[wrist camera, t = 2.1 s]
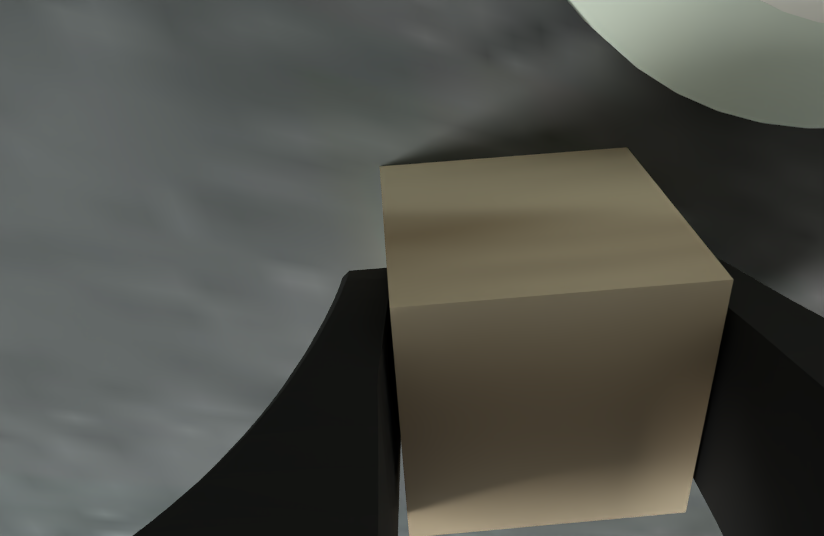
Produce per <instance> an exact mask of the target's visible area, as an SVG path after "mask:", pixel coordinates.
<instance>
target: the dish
mask: <svg viewBox="0 0 824 536" xmlns="http://www.w3.org/2000/svg"><path fill="white" fill-rule="evenodd" d="M567 1H568V2H569V3H570V5H571V6H572V7H573V8H574V9H575V11H576V12H577V13H578V14H579V15H580V17H581V18H582V19H583V20H584V21H585V22H586V23H588V24H589V25H590V26H591V27H592V28H593V29H594V30H595V31H596V32H597V33H598V34H600V35H601V36H602V37H603V38H604V39H605V40H606V41H607V42H608V43H610V44H611V45H612V46H613V47H614V48H615V49H616V50H618V51H619V52H620V53H621V54H622V55H623V56H624V57H625V58H627V59H628V60H629V61H630V62H631V63H632V64H633V65H634V66H636V67H637V68H638V69H640V70H641V71H643V72H644V73H646V74H647V75H649V76H651V77H652V78H654V79H655V80H657V81H658V82H660V83H662V84H663V85H665V86H666V87H668V88H669V89H671V90H672V91H674V92H676V93H678V94H680V95H682V96H684V97H687V98H689V99H691V100H694V101H696V102H698V103H700V104H703V105H705V106H707V107H709V108H712V109H714V110H716V111H719V112H723V113H727V114H730V115H734V116H738V117H741V118H745V119H749V120H753V121H756V122H760V123H767V124H775V125H783V126H792V127H800V128H824V0H567Z"/></svg>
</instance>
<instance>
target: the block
mask: <svg viewBox="0 0 824 536" xmlns="http://www.w3.org/2000/svg"><path fill="white" fill-rule="evenodd" d="M380 176H381V191H382V205H383V219H384V233H385V247H386V261H387V275H388V290H389V304H390V316H391V328H392V339H393V351H394V363H395V374H396V386H397V398H398V409H399V421H400V432H401V444H402V456H403V467H404V479H405V491H406V502H407V514H408V525H409V536H431V535H442V534H453V533H464V532H475V531H486V530H497V529H508V528H519V527H530V526H541V525H552V524H563V523H574V522H585V521H596V520H607V519H618V518H629V517H640V516H651V515H662V514H673V513H684V512H686V508H687V503H688V499H689V494H690V489H691V484H692V479H693V474H694V469H695V464H696V460H697V455H698V450H699V445H700V440H701V435H702V430H703V426H704V421H705V416H706V411H707V406H708V401H709V396H710V391H711V387H712V382H713V377H714V372H715V367H716V362H717V357H718V353H719V348H720V343H721V338H722V333H723V328H724V323H725V318H726V314H727V309H728V304H729V299H730V294H731V289H732V284H733V280H734V279H733V278H732V277H731V276H730V275H729V273H728V272H727V271H726V270H725V268H724V267H723V266H722V265H721V263H720V262H719V261H718V260H717V258H716V257H715V256H714V255H713V253H712V252H711V251H710V250H709V248H708V247H707V246H706V245H705V244H704V242H703V241H702V240H701V239H700V237H699V236H698V235H697V234H696V232H695V231H694V230H693V229H692V227H691V226H690V225H689V224H688V222H687V221H686V220H685V219H684V217H683V216H682V215H681V214H680V213H679V211H678V210H677V209H676V208H675V206H674V205H673V204H672V203H671V201H670V200H669V199H668V198H667V196H666V195H665V194H664V193H663V191H662V190H661V189H660V188H659V186H658V185H657V184H656V183H655V181H654V180H653V179H652V178H651V177H650V175H649V174H648V173H647V172H646V170H645V169H644V168H643V167H642V165H641V164H640V163H639V162H638V160H637V159H636V158H635V157H634V155H633V154H632V153H631V152H630V150H629V149H628V148H627V147H624V148H611V149H598V150H585V151H572V152H560V153H547V154H534V155H521V156H508V157H495V158H482V159H469V160H456V161H444V162H431V163H418V164H405V165H392V166H380Z"/></svg>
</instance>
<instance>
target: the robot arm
mask: <svg viewBox="0 0 824 536" xmlns="http://www.w3.org/2000/svg"><path fill="white" fill-rule="evenodd" d="M717 260H718V261H719V262H720V263H721V265H722V266H723V267H724V268H725V270H726V271H727V272H728V273H729V275H730V276H731V277H732V278H733V279H734V280H733V284H732V289H731V294H730V299H729V304H728V309H727V314H726V318H725V323H724V328H723V333H722V338H721V343H720V348H719V353H718V357H717V362H716V367H715V372H714V377H713V382H712V387H711V391H710V396H709V401H708V406H707V411H706V416H705V421H704V426H703V430H702V435H701V440H700V445H699V450H698V455H697V460H696V464H695V469H694V474H693V478H694V480H695V482H696V484H697V486H698V488H699V490H700V491H701V493H702V495H703V497H704V499H705V501H706V503H707V505H708V506H709V508H710V510H711V512H712V514H713V516H714V518H715V520H716V522H717V524H718V526H719V528H720V530H721V532H722V534H723V536H824V318H823V317H822V316H820V315H818V314H816V313H814V312H812V311H810V310H808V309H806V308H805V307H803V306H801V305H799V304H797V303H795V302H794V301H792V300H790V299H788V298H786V297H785V296H783V295H781V294H779V293H778V292H776V291H774V290H772V289H771V288H769V287H767V286H765V285H764V284H762V283H760V282H758V281H757V280H755V279H753V278H751V277H750V276H748V275H746V274H744V273H743V272H741V271H739V270H737V269H736V268H734V267H732V266H731V265H729V264H727V263H725V262H724V261H722V260H720V259H718V258H717ZM400 449H401V432H400V421H399V409H398V398H397V386H396V374H395V363H394V351H393V339H392V328H391V316H390V304H389V290H388V275H387V268H379V269H366V270H354V271H349V272H348V273H347V274H346V275H345V276H344V277H343V278H342V281H341V284H340V287H339V289H338V292H337V294H336V297H335V299H334V301H333V303H332V305H331V307H330V309H329V311H328V313H327V315H326V318H325V320H324V321H323V323H322V325H321V327H320V328H319V330H318V332H317V334H316V336H315V337H314V339H313V341H312V343H311V344H310V346H309V348H308V350H307V351H306V353H305V354H304V356H303V358H302V359H301V361H300V362H299V363H298V365H297V366H296V368H295V369H294V371H293V372H292V374H291V375H290V377H289V378H288V380H287V381H286V383H285V384H284V386H283V387H282V389H281V390H280V391H279V393H278V394H277V395H276V397H275V398H274V399H273V401H272V402H271V403H270V405H269V406H268V407H267V408H266V410H265V411H264V412H263V413H262V415H261V416H260V417H259V418H258V419H257V421H256V422H255V423H254V424H253V425H252V426H251V428H250V429H249V430H248V431H247V432H246V433H245V435H244V436H243V437H242V438H241V439H240V440H239V441H238V442H237V443H236V444H235V445H234V446H233V447H232V448H231V449H230V450H229V452H228V453H227V454H226V455H225V456H224V457H223V458H222V459H221V460H220V461H219V462H218V463H217V464H216V465H215V466H214V467H213V468H212V469H211V470H210V471H209V472H208V473H207V474H206V475H205V476H204V477H203V478H202V479H201V480H200V481H199V482H198V483H196V484H195V485H194V486H193V487H192V488H191V489H189V490H188V491H187V492H186V493H185V494H184V495H183V496H181V497H180V498H179V499H178V500H177V501H176V502H174V503H173V504H172V505H171V506H170V507H169V508H167V509H166V510H165V511H164V512H162V513H161V514H160V515H159V516H158V517H156V518H155V519H154V520H153V521H151V522H150V523H149V524H148V525H146V526H145V527H144V528H142V529H141V530H140V531H138V532H137V533H136V534H135V535H133V536H398V512H399V481H400Z"/></svg>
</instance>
